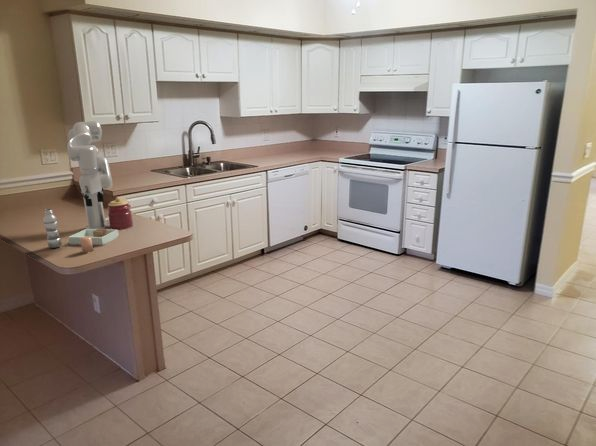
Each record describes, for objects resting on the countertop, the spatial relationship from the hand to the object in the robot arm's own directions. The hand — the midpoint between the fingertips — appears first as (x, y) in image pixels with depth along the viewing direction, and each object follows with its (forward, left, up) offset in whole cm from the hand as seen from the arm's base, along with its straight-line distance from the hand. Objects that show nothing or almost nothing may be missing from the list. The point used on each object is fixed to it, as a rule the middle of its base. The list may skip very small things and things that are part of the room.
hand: (95, 204), depth 241 cm
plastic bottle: (+13, -18, -20) cm, 30 cm away
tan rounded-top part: (+17, +4, -20) cm, 27 cm away
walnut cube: (0, 0, -19) cm, 19 cm away
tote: (0, -4, -20) cm, 20 cm away
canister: (-26, -4, -20) cm, 33 cm away
